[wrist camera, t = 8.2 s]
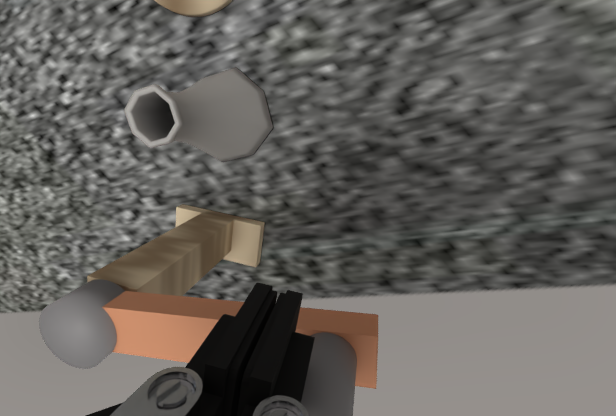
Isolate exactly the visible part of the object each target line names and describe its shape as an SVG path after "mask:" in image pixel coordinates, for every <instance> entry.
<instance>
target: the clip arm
mask: <svg viewBox="0 0 616 416" xmlns="http://www.w3.org/2000/svg"><path fill="white" fill-rule="evenodd" d="M243 303H244V302H238V301H227V300H217V299H206V298H195V297H185V296H174V295H163V294H153V293H142V292H131V291H125V290H124V289H123V288H121V287H120V286H119V285H117V284H115V283H113V282H111V281H108V280H103V279H97V280H92V281H90V282H88V283H86V284H84V285H83V286H81V287H79V288H77V289H76V290H74V291H72V292H70V293H69V294H67V295H65V296H63V297H62V298H60V299H58V300H56V301H55V302H53V303H51V304H50V305H48V306H47V307H45V308H44V309H43V311H42V313H41V315H40V319H39V327H40V332H41V335H42V338H43V340H44V342H45V343H46V345H47V346H48V348H49V349H50V350H51V351H52V353H53V354H54V355H55V356H56V357H58V358H59V359H60V360H62V361H63V362H65V363H66V364H68V365H71V366H73V367H76V368H82V369H88V368H92V367H95V366H96V365H98V364H99V363H100V362H101V361H102V360H103V359H105V358H106V357H107V356H108V355H109V354H110V353H112V352H116V353H123V354H131V355H138V356H145V357H152V358H159V359H166V360H174V361H180V362H187V363H189V361H190V360H191V359H192V357H193V356H194V354H195V353H196V352H197V350H198V349H199V347H200V346H201V344H202V343H203V342H204V340H205V339H206V337H207V336H208V335H209V333H210V332H211V330H212V329H213V328H214V326H215V325H216V323H217V322H218V321H219V319H220V318H221V316H222V315H223V314H227V315H231V316H236V314H237V313H238V311H239V310H240V308H241V307H242V305H243ZM296 332H297V333H301V334H305V335H308V336H312V337H315V339H314V344H313V349H312V353H311V358H310V363H309V367H308V372H307V377H306V381H305V386H304V391H303V395H302V400H301V404H302V405H303V406H304V407H305V408H306V410H307V412H308V414H309V416H353V404H354V391H355V386H360V387H367V388H374V389H376V381H377V380H376V379H377V378H376V377H377V353H378V315H376V314H364V313H354V312H344V311H332V310H323V309H312V308H301V307H300V311H299V316H298V322H297V327H296Z"/></svg>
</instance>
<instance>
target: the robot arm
mask: <svg viewBox="0 0 616 416" xmlns="http://www.w3.org/2000/svg"><path fill="white" fill-rule="evenodd" d="M302 295H303V294H302V293H298V292H294V291H290V290H287V292H286V294H284V293H280V295H279V297H278V299H277V301H276V297H277V292H276V291H272V286H270V285H265V284H261V283H256V285H255V286H254V288H253V289H252V291H251V293H250V294H249V296H248V297H247V299H246V300H245V302H244V303H243V305H242V307H241V308H240V310H239V311H238V313H237V314H236V316H231V315H227V314H223V315H222V316H221V318H220V319H219V321H218V322H217V323H216V325H215V326H214V328H213V329H212V330H211V332H210V333H209V335H208V336H207V337H206V339H205V340H204V342H203V343H202V344H201V346H200V347H199V349H198V350H197V352H196V353H195V354H194V356H193V357H192V359H191V360H190V361H189V363H188V364H187V366H186V367H185V368H184V367H172V368H167V369H164V370H162V371H160V372H157V373H156V374H154V375H153V376H151V377H150V378H149V379H148V380H147V381H146V382H145V383H144V384H142V385H141V386H140V388H138V389H137V390H136V391H135V392H134V393H133V394H132V395H131V396H130V397H129V398H128V399H127V400H126V401H125V402H123V403H121V404H118V405H115V406H112V407H109V408H106V409H104V410H101V411H98V412H95V413H92V414H89V415H86V416H309V414H308V412H307V410H306V408H305V407H304V406H303V405H302V404H301V400H302V395H303V391H304V386H305V381H306V377H307V372H308V367H309V363H310V358H311V353H312V349H313V344H314V339H315V337H312V336H308V335H305V334H301V333H297V332H296V327H297V322H298V316H299V311H300V306H301V301H302ZM275 303H276V304H275Z"/></svg>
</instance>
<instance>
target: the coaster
mask: <svg viewBox="0 0 616 416" xmlns="http://www.w3.org/2000/svg"><path fill="white" fill-rule="evenodd" d="M155 1H156V2H157V3H159V4H160V5H162V6H163V7H165V8H167V9H169V10H171V11H173V12H175V13H178V14H180V15H184V16H189V17H201V16H207V15H210V14H213V13H216V12H218V11H220V10H221V9H223V8H224V7H226V6H227V5H228V4H230V3H231V2H232V1H233V0H155Z"/></svg>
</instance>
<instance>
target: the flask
mask: <svg viewBox="0 0 616 416" xmlns="http://www.w3.org/2000/svg"><path fill="white" fill-rule="evenodd" d="M124 111H125V114H126V117H127V120H128V123H129V125H130V128H131V131H132V133H133V134H134V135H135V136H136V137H137V138H139V139H140V140H141V141H142V142H143V143H144V144H146V145H147V146H148V147H149V148H154V147H158V146H161V145H165V144H169V143H172V142H173V141H178V142H184V143H188V144H190V145H192V146H194V147H196V148H198V149H200V150H202V151H204V152H206V153H208V154H209V155H211V156H213V157H214V158H216V159H218V160H220V161H222V162H226V161H230V160H234V159H238V158H242V157H246V156H250V155H253V154H254V153H255V152H256V150H257V149H258V148H259V146H260V145H261V144H262V142H263V141H264V139H265V138H266V137H267V135H268V134H269V133H270V131H271V130H272V129H273V125H272V121H271V117H270V114H269V110H268V106H267V102H266V98H265V94H264V91H263V90H262V89H261V88H259V87H258V86H257V85H256V84H255V83H254V82H252V81H251V80H250V79H249V78H248V77H247V76H245V75H244V74H243V73H242V72H241V71H240V70H239V69H237V68H236V67H235V68H232V69H229V70H226V71H223V72H220V73H217V74H213V75H210V76H207V77H204V78H202V79H201V80H199V81H198V82H196V83H195V84H194V85H192V86H191V87H189V88H187V89H185V90H184V91H182V92H177V93H173V92H166V91H165V90H163V89H162V88H161V87H160V86H158V85H156V84H154V85H151V86H147V87H144V88H141V89H138V90H135V91H134V92H133V94H132V96H131V98H130V100H129V102H128V104H127V105H126V107H125V109H124Z"/></svg>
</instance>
